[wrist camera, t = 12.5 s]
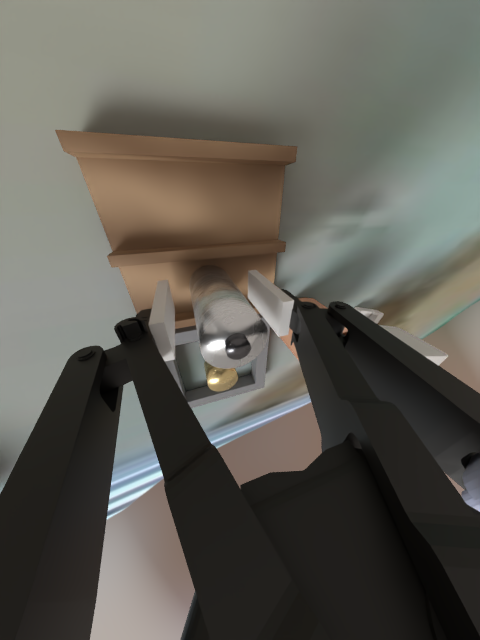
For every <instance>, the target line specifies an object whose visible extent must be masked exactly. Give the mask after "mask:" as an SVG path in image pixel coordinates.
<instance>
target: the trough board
mask: <svg viewBox="0 0 480 640" xmlns="http://www.w3.org/2000/svg"><path fill="white" fill-rule="evenodd" d="M55 131H56V133H57V136H58V138H59V141H60V143H61V146H62V148H63V150H64V152H67V153H69V154H71V155H73V156H75V157H76V158H77V160H78V163H79V165H80V168H81V171H82V173H83V176H84V178H85V181H86V183H87V186H88V189H89V191H90V194H91V196H92V199H93V202H94V204H95V207H96V209H97V212H98V214H99V217H100V220H101V222H102V225H103V227H104V230H105V232H106V235H107V238H108V240H109V243H110V245H111V248H112V250H113V252H112V253H110V254H109V255H108V256H107V257H108V260H109V262H110V265H111V267H112V268H113V267H119V269H120V271H121V274H122V276H123V279H124V281H125V284H126V287H127V289H128V292H129V294H130V297H131V299H132V302H133V305H134V307H135V310H136V312H137V314H138V313H139V312H140V311H141V310H145V309H152V306H153V301H154V297H155V292H156V287H157V283H158V281H161V280H168V283H169V287H170V291H171V295H172V299H173V303H174V307H175V329H177V328H183V327H189V326H194V325H196V322H195V317H194V311H193V305H192V300H191V294H190V289H189V282H190V278H191V276H192V274H193V273H194V272H195V271H196V270H197V269H199V268H200V267H202V266H206V265H214V266H218V267H220V268H222V269H223V270H224V271H225V272H226V273H227V274H228V276H229V277H230V278H231V280H232V281H233V282H234V283H235V285H236V286H237V287H238V289H239V290H240V291H241V293H242V294H243V295H244V297H245V298H246V299H247V301H248V302H249V303H250V304H251V306H252V307H253V308H254V310H255V311H256V312H257V314H260V313H259V311H258V310H257V309H256V307H255V306H254V305H253V304H252V302H251V301H250V300H249V299H248V271H250V270H257V271H258V272H259V273H260V274H262V275H263V276H264V277H265V278H267V279H268V280H269V281H270V282H272V283H273V284H274V277H275V267H276V256H277V252H285V246H286V242H283V241H280V240H278V235H279V225H280V214H281V204H282V193H283V183H284V172H285V165H288V164H291V163H294V162H296V154H297V147H296V146H282V145H267V144H253V143H238V142H224V141H210V140H195V139H181V138H166V137H152V136H137V135H123V134H109V133H94V132H80V131H65V130H55Z"/></svg>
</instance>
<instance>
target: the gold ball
mask: <svg viewBox="0 0 480 640" xmlns="http://www.w3.org/2000/svg"><path fill="white" fill-rule="evenodd" d="M204 367H205V372H206V378H207V383H208V387H209V388H210V389H211V390H213V391H225V390H228V389H230V388H231V387H233V386H234V385H235V384H236V382H237V380H238V375H237V372H236V370H235V368H231V369H223V368H217V367H214V366H212V365H210V364H209V363H208V362H206V361H205V363H204Z"/></svg>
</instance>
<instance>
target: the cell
mask: <svg viewBox="0 0 480 640" xmlns="http://www.w3.org/2000/svg"><path fill="white" fill-rule="evenodd" d="M189 289H190V294H191V300H192V305H193V311H194V317H195V322H196V328H197V333H198V339H199V344H200V350H201V354H202V356H203V358H204V359H205V361H206V362H208V363H209V364H210V365H212V366H214V367H217V368H223V369H231V368H237V367H240V366H243V365H245V364H247V363H249V362H251V361H252V360H254V359H255V358H256V357H257V356H258V355H259V354H260V353H261V352H262V350H263V349H264V347H265V345H266V343H267V340H268V329H267V326H266V325H265V323H264V322H263V320H262V319H261V318H260V316H259V315H258V314H257V312H256V311H255V310H254V308H253V307H252V306H251V304H250V303H249V302H248V301H247V299H246V298H245V297H244V295H243V294H242V293H241V291H240V290H239V289H238V287H237V286H236V285H235V283H234V282H233V281H232V280H231V278H230V277H229V276H228V274H227V273H226V272H225V271H224V270H223V269H222V268H220V267H218V266H214V265H206V266H202V267H200V268H199V269H197V270H196V271H195V272H194V273H193V274H192V276H191V278H190V282H189Z"/></svg>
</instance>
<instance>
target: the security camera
mask: <svg viewBox="0 0 480 640" xmlns="http://www.w3.org/2000/svg"><path fill="white" fill-rule="evenodd" d="M354 309H356V310H357V311H359V312H360V313H362V314H363V315H365V316H366V317H367V318H369V319H370V320H372V321H373V322H375V323H376V324H377V323H378V322H379V321H380V319H381V318H382V317H383V315H384V314H383V313H381V312H380V311H378V310H374V309H367V308H360V307H355V308H354ZM379 326H381V327H382V328H384V329H385V330H387V331H388V332H390V333H391V334H393V335H394V336H395V337H397V338H398V339H400V340H401V341H403V342H404V343H406V344H407V345H409V346H410V347H412V348H413V349H415V350H416V351H418V352H419V353H421V354H422V355H423V356H425V357H426V358H428V359H429V360H431V361H432V362H434V363H435V364H437V365H438V366H439V364H440V363H442V362H443V361H444V360H445V359H446V358H447V357H448V355H447V354H446V353H445V352H443V351H441V350H439V349H437V348H436V347H434V346H432V345H430V344H428V343H426V342H425V341H423V340H421V339H419V338H417V337H416V336H414V335H412V334H410V333H408V332H406V331H405V330H403V329H401V328H398V327H392V326H382V325H379Z"/></svg>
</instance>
